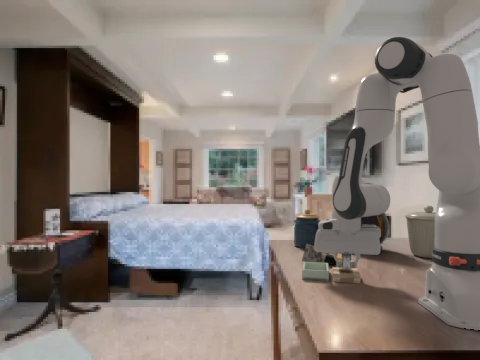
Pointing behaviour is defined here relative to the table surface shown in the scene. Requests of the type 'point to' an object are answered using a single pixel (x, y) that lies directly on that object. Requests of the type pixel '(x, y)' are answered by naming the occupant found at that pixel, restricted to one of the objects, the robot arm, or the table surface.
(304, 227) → the canister
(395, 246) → the table surface
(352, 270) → the pin stand
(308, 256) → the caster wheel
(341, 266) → the chock
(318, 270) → the tray
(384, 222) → the amphora vase
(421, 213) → the canister
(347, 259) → the stop pin
